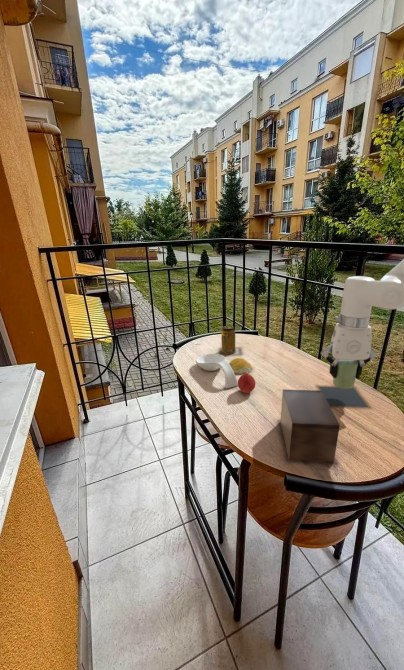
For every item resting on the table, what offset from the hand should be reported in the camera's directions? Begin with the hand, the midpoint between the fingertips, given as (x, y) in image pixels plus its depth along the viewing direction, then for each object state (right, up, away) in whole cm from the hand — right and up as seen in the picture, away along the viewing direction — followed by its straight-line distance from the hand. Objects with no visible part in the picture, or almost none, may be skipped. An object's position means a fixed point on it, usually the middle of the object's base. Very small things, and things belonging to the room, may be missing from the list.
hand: (344, 375), depth 86 cm
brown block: (-18, -15, -15) cm, 28 cm away
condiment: (-31, +4, +39) cm, 50 cm away
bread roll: (-29, -1, +23) cm, 37 cm away
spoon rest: (-38, -3, +21) cm, 43 cm away
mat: (+1, -7, +3) cm, 8 cm away
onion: (-29, -7, +7) cm, 31 cm away
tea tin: (0, -3, +1) cm, 3 cm away
